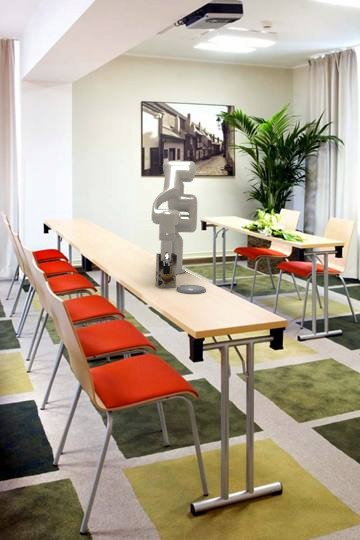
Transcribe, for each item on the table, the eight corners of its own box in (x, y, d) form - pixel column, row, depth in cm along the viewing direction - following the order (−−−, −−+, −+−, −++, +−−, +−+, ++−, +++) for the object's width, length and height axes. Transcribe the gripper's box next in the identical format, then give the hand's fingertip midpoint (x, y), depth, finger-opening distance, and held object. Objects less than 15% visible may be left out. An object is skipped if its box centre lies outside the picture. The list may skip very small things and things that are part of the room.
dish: (176, 287, 301) (176, 284, 300) (204, 287, 301) (204, 284, 301) (177, 293, 287) (177, 290, 287) (207, 294, 288) (207, 291, 287)
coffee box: (158, 288, 297) (158, 255, 294) (155, 285, 303) (155, 253, 300) (176, 287, 300) (177, 255, 296) (173, 284, 306) (173, 252, 303)
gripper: (158, 234, 305) (158, 268, 308) (159, 239, 288) (158, 275, 291) (174, 234, 305) (173, 268, 309) (175, 239, 288) (174, 275, 292)
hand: (166, 271), depth 300 cm, fingers open, 9 cm apart
